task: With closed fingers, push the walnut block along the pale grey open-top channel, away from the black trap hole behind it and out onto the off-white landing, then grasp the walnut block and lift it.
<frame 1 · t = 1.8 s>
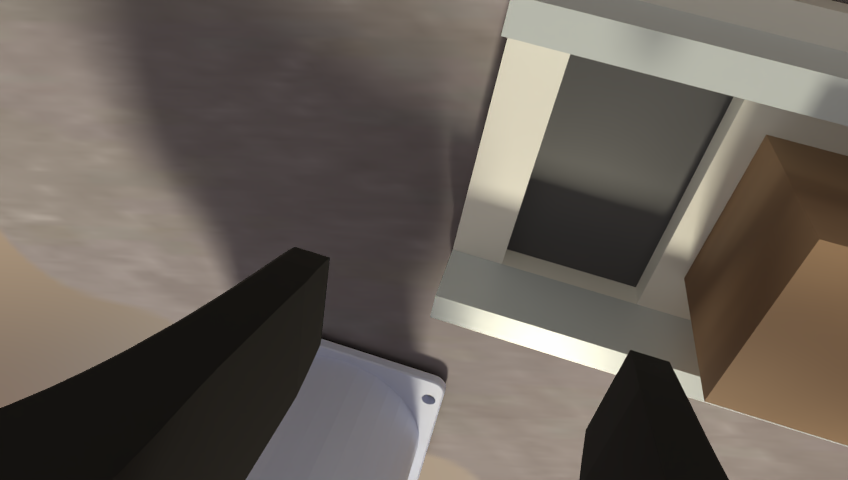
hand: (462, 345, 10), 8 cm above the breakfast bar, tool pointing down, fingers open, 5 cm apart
trap channel: (837, 223, 16), on the breakfast bar
walnut block: (810, 237, 15), point 1 cm above the breakfast bar, touching trap channel
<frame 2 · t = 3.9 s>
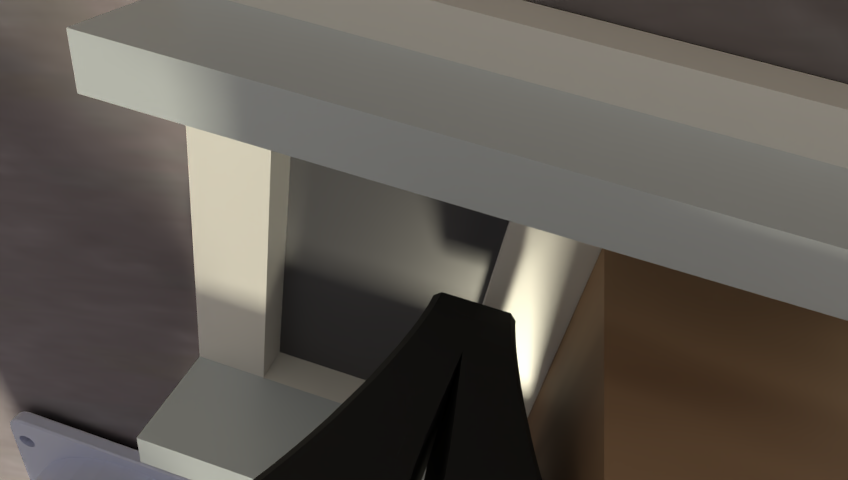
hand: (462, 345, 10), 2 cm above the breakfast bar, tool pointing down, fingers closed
trap channel: (698, 340, 11), on the breakfast bar
walnut block: (687, 381, 10), point 1 cm above the breakfast bar, touching gripper
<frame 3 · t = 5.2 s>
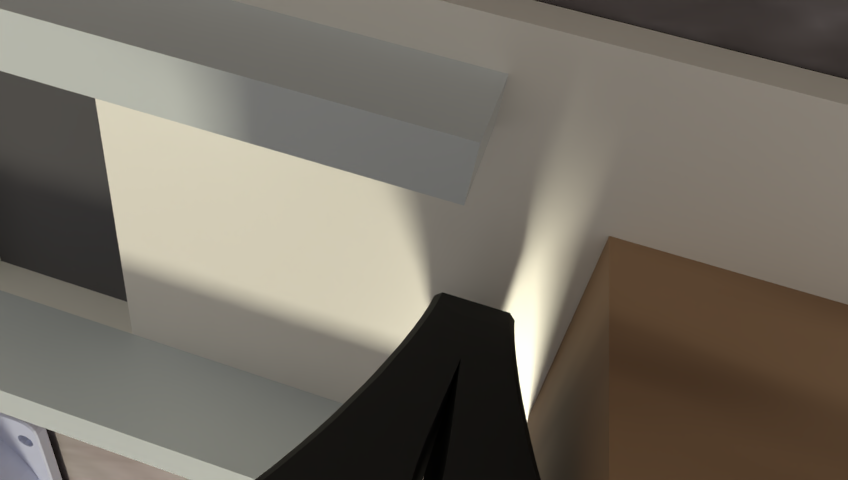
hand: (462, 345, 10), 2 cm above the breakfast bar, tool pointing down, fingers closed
trap channel: (336, 229, 12), on the breakfast bar
walnut block: (691, 376, 10), point 1 cm above the breakfast bar, touching gripper, trap channel
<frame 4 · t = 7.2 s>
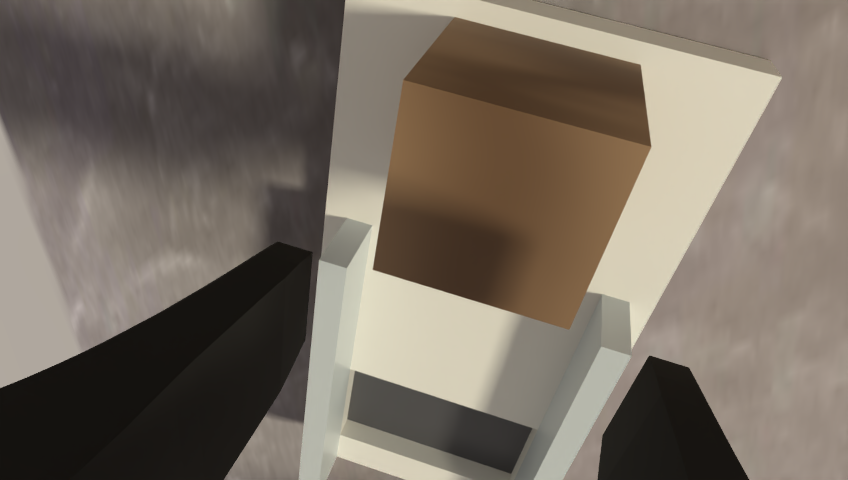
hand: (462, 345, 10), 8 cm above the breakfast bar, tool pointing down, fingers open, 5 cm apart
trap channel: (473, 296, 20), on the breakfast bar
walnut block: (520, 126, 15), point 1 cm above the breakfast bar, touching trap channel
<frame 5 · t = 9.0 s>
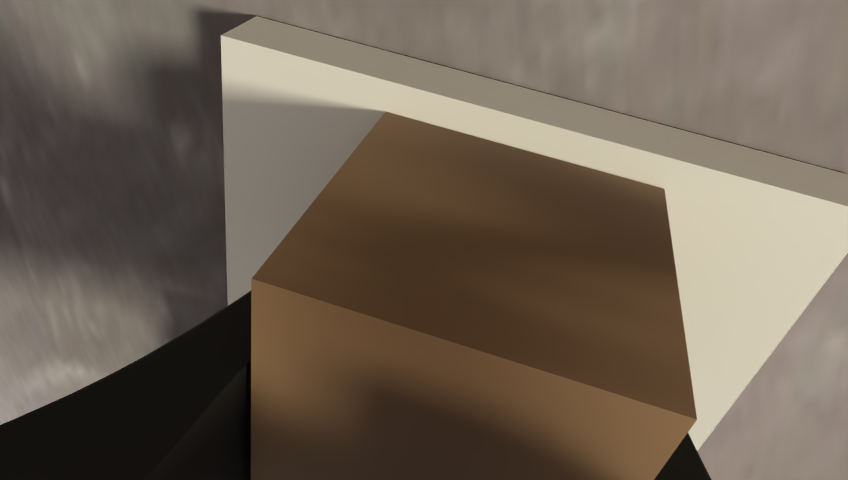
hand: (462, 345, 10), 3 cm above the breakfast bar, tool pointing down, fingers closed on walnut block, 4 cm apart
trap channel: (432, 435, 16), on the breakfast bar
walnut block: (487, 259, 11), point 1 cm above the breakfast bar, touching gripper, trap channel
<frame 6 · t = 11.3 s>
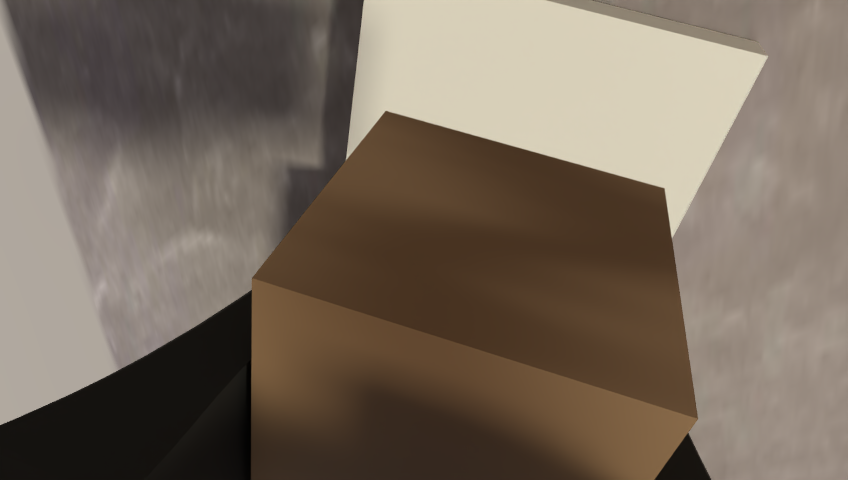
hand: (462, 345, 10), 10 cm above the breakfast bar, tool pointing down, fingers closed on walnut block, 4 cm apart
trap channel: (481, 269, 21), on the breakfast bar
walnut block: (488, 259, 11), point 8 cm above the breakfast bar, touching gripper
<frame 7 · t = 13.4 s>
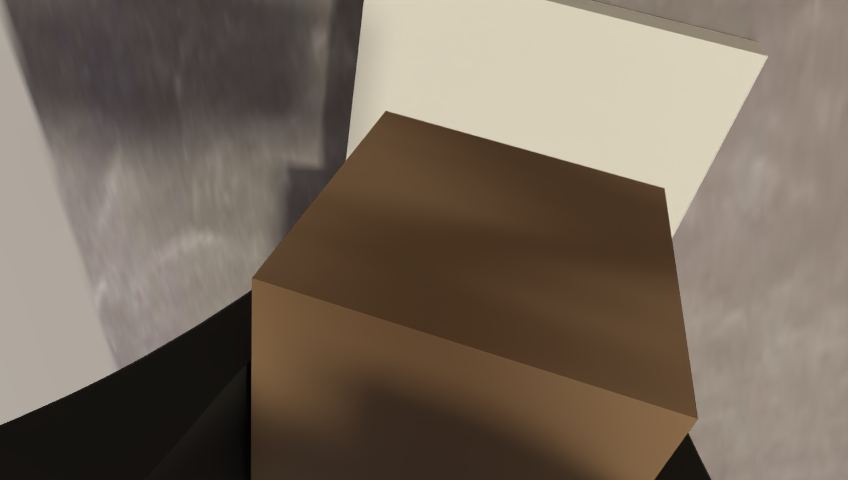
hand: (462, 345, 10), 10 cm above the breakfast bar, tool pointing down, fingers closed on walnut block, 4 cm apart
trap channel: (481, 269, 21), on the breakfast bar
walnut block: (488, 259, 11), point 8 cm above the breakfast bar, touching gripper
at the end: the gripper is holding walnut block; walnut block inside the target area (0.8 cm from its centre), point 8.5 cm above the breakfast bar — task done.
